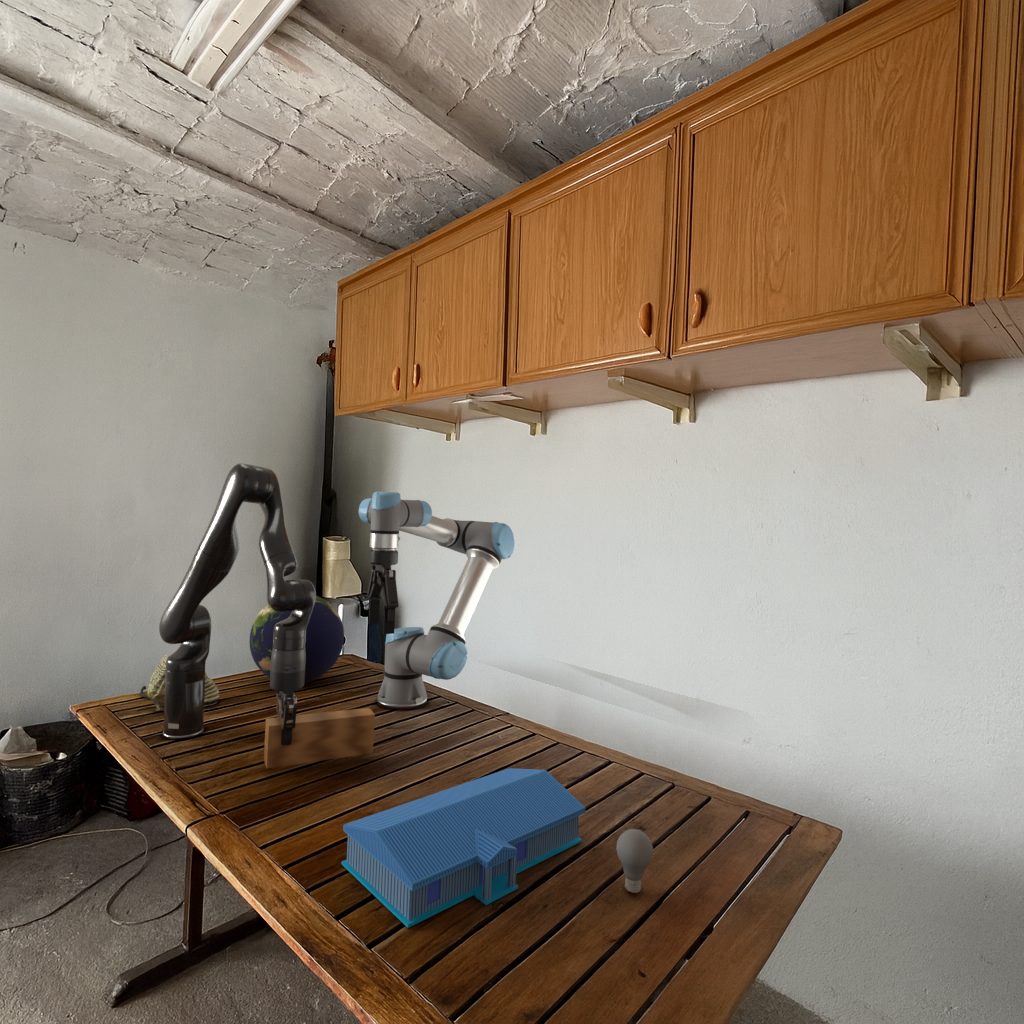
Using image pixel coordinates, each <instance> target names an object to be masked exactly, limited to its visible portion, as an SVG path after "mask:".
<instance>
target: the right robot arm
mask: <svg viewBox="0 0 1024 1024" xmlns="http://www.w3.org/2000/svg"><path fill="white" fill-rule="evenodd" d="M358 516H359V519H360V520H361V521H362V522H363V523H365V524H369V525H370V532H369V548H371V549H370V551H369V560H368V563H369V564H370V565H371V568H370V569H371V570H370V571H371V572H370V577H369V581H368V588H367V592H366V596H367V597H368V600H369V602H368V605H369V606H368V624H369V625H375V624H376V625H377V624H380V606H381V604H380V603H381V600H382V597H381V592H382V596H383V600H384V605H383V607H382V609H383V629H382V634H383V635H386V636H385V642H384V674H383V675H384V676H383V680H382V682H381V686H380V687H379V691H378V692H377V693H378V694H377V698H376V703H377V705H378V706H379V707H381V708H384V709H388V710H397V711H398V710H399V711H400V710H402V711H404V710H405V711H406V710H413V709H419V708H421V707H423V706H425V705H426V704H427V702H428V694H427V691H426V685H425V684H424V680H423V676H427V677H431V678H433V679H436V680H446V681H448V680H452V679H454V678H456V677H458V676H459V674H461V672H462V671H463V669H464V667H466V663H467V662H468V656H467V655H468V649H467V646H466V643H467V641H466V638H465V633H466V630H467V629H468V626H469V624H470V622H471V619H472V617H473V614H474V613H475V610H476V608H477V605H478V604H479V601H480V599H481V596H482V594H483V591H484V589H485V587H486V585H487V582H488V581H489V578H490V576H491V573H492V572H493V570H495V569H498V568H499V566H500V564H501V562H502V560H508V559H509V558H511V557H512V555H513V553H514V550H515V535H514V532H513V530H512V529H511V526H509V525H508V524H506V523H503V522H497V521H481V520H480V521H479V520H459V519H457V520H456V519H452V518H448V517H446V518H440V517H437V516H434V515H433V510H432V506H431V505H430V504H429V503H428V501H425V500H421V499H401V494H400V492H395V491H394V492H393V491H375V492H373V493H372V497H369V498H365V499H363V500H362V501H361V502H360V504H359V506H358ZM400 532H404V533H407V534H409V535H412V536H415V537H416V536H417V537H420V538H424V539H426V540H430V541H434V542H436V544H437V545H439V546H440V547H443V548H445V549H449V550H452V551H454V552H457V553H460V554H462V555H463V554H464V555H465V556H466V558H467V560H466V562H465V564H464V566H463V569H462V571H461V573H460V575H459V577H458V580H457V582H456V584H455V586H454V589H453V591H452V593H451V595H450V597H449V599H448V602H447V603H446V606H445V607H444V610H443V612H442V614H441V616H440V618H439V621H438V622H437V623H436V624H433V625H431V626H430V629H429V631H428V633H427V634H425V629H424V628H423V627H421V626H406V627H405V626H404V627H398V628H395V625H396V624H395V622H396V609H397V608H399V606H400V605H399V597H398V587H397V586H398V585H397V579H396V578H397V571H396V569H392V566H395V565H397V564H398V563H399V551H398V550H397V549H399V542H400V541H401V537H400Z"/></svg>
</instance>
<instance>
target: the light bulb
mask: <svg viewBox="0 0 1024 1024" xmlns="http://www.w3.org/2000/svg"><path fill="white" fill-rule="evenodd" d="M615 849H616V854H617V857H618V859H619V861H620V863H621V865H622V867H623V873H624V874H623V875H624V876H625V878H624V888H625V890H627V891H628V892H630V893H634V894H635V893H639V892H640V891H641V889H642V887H641V886H642V879H643V877H644V875H645V871H646V868H647V867H648V866H649V864H650V863H651V861H652V859H653V855H654V847H653V843H652V841H651V838H649V836H648V835H647V834H646V833H645V832H643V831H642V830H641V829H636V828H629V829H627V830H625V831H623V832H622V833H621V834H620V835H619V837H618V839H617V841H616V847H615Z"/></svg>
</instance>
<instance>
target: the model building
mask: <svg viewBox="0 0 1024 1024" xmlns="http://www.w3.org/2000/svg"><path fill="white" fill-rule="evenodd" d="M584 814H586V806H585V805H584V804H582V802H580V801H579V799H577V798H576V797H575V796H574V795H573V794H572V793H571V792H570V791H569V790H568V789H567V788H566V787H565V786H563V785H562V784H561V783H560V781H558V780H557V779H556V778H555V777H554V776H553V775H552V774H551V773H550V772H549V771H548V770H547V769H536V768H534V769H531V768H513V767H512V768H511V767H509V768H505V769H503V770H500V771H497V772H494V773H491V774H488V775H485V776H481V777H479V778H477V779H473V780H471V781H467V782H464V783H461V784H459V785H455V786H453V787H450V788H447V789H444V790H441V791H438V792H436V793H432V794H430V795H427V796H423V797H421V798H418V799H415V800H412V801H409V802H406V803H403V804H399V805H397V806H393V807H391V808H388V809H386V810H382V811H380V812H377V813H374V814H371V815H368V816H364V817H362V818H359V819H356V820H353V821H350V822H348V823H344V824H343V825H342V831H343V832H344V833H345V834H346V835H347V842H346V843H347V845H346V846H347V847H346V859H344V860H342V861H341V865H342V866H343V867H344V868H345V869H346V870H347V871H348V872H349V873H350V874H351V875H352V876H353V877H354V878H355V879H356V880H357V881H358V882H359V883H360V884H361V885H362V886H363V887H365V888H366V889H367V891H369V892H370V893H371V894H372V895H373V896H374V898H376V899H377V900H378V901H379V902H380V903H381V904H382V905H383V906H384V907H385V908H386V909H387V910H388V911H390V912H391V913H392V914H393V916H395V917H396V918H397V919H398V920H399V921H400V922H401V923H402V924H403V925H404V926H405V927H406V928H407V929H409V928H411V927H413V926H415V925H417V924H419V923H421V922H423V921H426V920H427V919H429V918H432V917H433V916H435V915H437V914H439V913H441V912H443V911H445V910H447V909H450V908H452V907H453V906H455V905H457V904H459V903H462V902H463V901H466V900H467V899H469V898H471V897H475V898H476V899H477V900H478V901H479V902H481V903H482V904H483V905H484V906H488V905H490V904H491V903H494V902H495V901H497V900H499V899H501V898H503V897H505V896H507V895H509V894H510V893H513V892H514V891H517V890H519V884H518V883H517V875H518V874H519V873H522V872H524V871H525V870H528V869H529V868H531V867H534V866H536V865H538V864H539V863H540V864H541V863H542V862H543V861H545V860H548V859H550V858H552V857H554V856H556V855H558V854H559V853H562V852H564V851H566V850H568V849H571V847H574V846H576V845H578V844H580V843H582V842H583V838H581V837H579V818H580V816H581V815H584Z"/></svg>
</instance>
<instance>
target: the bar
mask: <svg viewBox="0 0 1024 1024" xmlns="http://www.w3.org/2000/svg"><path fill="white" fill-rule="evenodd" d="M375 720H376V714H375V713H374V711H373V710H372V709H371V708H370V707H364V708H362V707H361V708H354V709H353V708H352V709H344V710H335V711H326V712H315V713H308V714H298V715H297V714H296V722H295V728H292V743H291V744H290V745H285V746H282V744H281V734H282V728H281V726H282V724H281V719H280V718H279V717H278V718H277V717H269V718H265V726H264V727H265V729H264V730H265V731H264V747H263V749H264V750H263V762H264V764H265V768H266V769H273V768H279V767H285V766H286V767H288V766H293V765H301V764H308V763H313V762H314V763H315V762H321V761H329V760H335V759H336V760H337V759H343V758H351V757H358V756H365V755H371V754H373V753H374V737H375ZM286 723H291V720H287V721H286Z"/></svg>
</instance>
